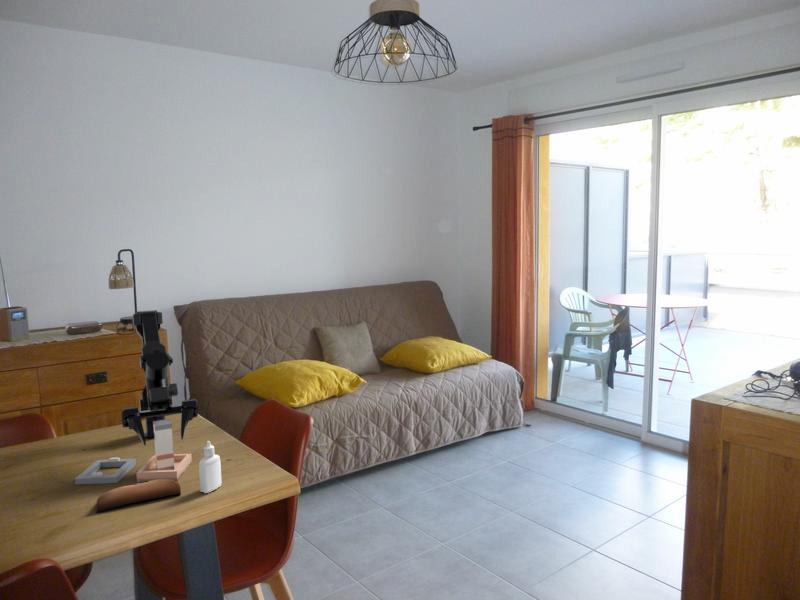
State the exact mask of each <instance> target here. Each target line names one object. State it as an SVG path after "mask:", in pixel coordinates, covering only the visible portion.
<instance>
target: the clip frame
mask: <svg viewBox="0 0 800 600" xmlns="http://www.w3.org/2000/svg"><path fill="white" fill-rule="evenodd" d="M136 465H137V459H136V458H120V457H110V458H109V459H97V460H96V461H94V462H93V463H92V464H90V466H88V467H87V468H86V469H85V470H83V472H81V473H80V474H79V475H77V476H76V477H75V478H74V484H75V485H93V484H95V485H96V484H98V485H99V484H101V485H102V484H117V483H119V482H120V480H121V479H123V478H124V477H125V475H127V474H128V473H129V472H130V471H131V470H132V469H133V468H134V467H135V466H136ZM102 468H118V469H117V470H116V471H115V472H113V474H104V471H103V472H102V471H99V470H100V469H102Z"/></svg>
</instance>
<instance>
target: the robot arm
mask: <svg viewBox="0 0 800 600" xmlns="http://www.w3.org/2000/svg"><path fill="white" fill-rule="evenodd" d="M163 323H164V321H163V312H160V311H158V310H142V311H136V313H134V314H132V325H133V327H135V331H136V332H135V333H136V334H137V335H138V336H139V338H140V339H141V342H142V343H141V344H142V347H141V355H140V356H139V366H140V369H141V370H143V372H144V376H145V386H144V388H143V390H142V392H141V398H140V399H139V406H133V407H125V408H122V410H121V422H122V428H128V429H129V430H133V431H134V432H135V433H136V434H137V436H138V437H139V439H140V441H141V443H142V444H143V446H146V445H147V441H146V440H147V439H151V438H152V439H153V438H154V426H153V421H159V420H165V419H166V416H172V415H177V414H178V415H180V416H181V417H180V439H181V440H182V441H183V440H184V437H185V432H186V428H187V425H188V423H189V422H190V421H193V419H194V418H197V417H198V415H199V401H198V400H197V399H196V398H193V399H185V400H182V401H181V405H179V406H178V405H177V406H173V398H172V397H178V395H179V390H178V384H177V382H175V383H170V382H169V373H170V372H169V371H170V367H171V365H172V364H173V363H174V362H173V361H174V360H173V357H172V356H171V355H170V354H169V352H168V353H167V350H166V346H165V345H164V344H162V343H161V341H160V340H161V339H160V331H161V325H163ZM142 419H145V431H144V427H143V422H142Z"/></svg>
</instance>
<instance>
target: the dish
mask: <svg viewBox="0 0 800 600" xmlns="http://www.w3.org/2000/svg"><path fill="white" fill-rule="evenodd" d="M192 459H193V458H192V453H174V470H157V468H156V456H155V454H154V455H152V456H151V457H150V458H149V459H148V460H147V461H146V462H145V464H143V465H142V467H141V468H140V469H138V471H136V474H135V475H136V482H137V483H142V482H141V481H152V480H160V479H167V480H176V481H178V480H179V479H180V478H181V477H182V475H183V474H184V473H185V472H186V470H187V469H188V468H189V466H190V465H191V464H192V463H191V462H192V461H193V460H192ZM190 463H191V464H190ZM189 464H190V465H189ZM187 467H188V468H187ZM186 468H187V469H186ZM183 472H184V473H183ZM182 473H183V474H182ZM181 474H182V475H181ZM180 476H181V477H180ZM179 477H180V478H179ZM178 478H179V479H178Z"/></svg>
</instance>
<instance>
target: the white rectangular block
mask: <svg viewBox="0 0 800 600" xmlns="http://www.w3.org/2000/svg"><path fill="white" fill-rule="evenodd" d="M153 426H154V437H153V439H154V455H155V456H156V468H157V470H174V454H175V453H174V443H173V442H174V441H173V440H174V439H173V428H172V422H171V419H170V418H167V419H166V418H165V420H159V421H153Z"/></svg>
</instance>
